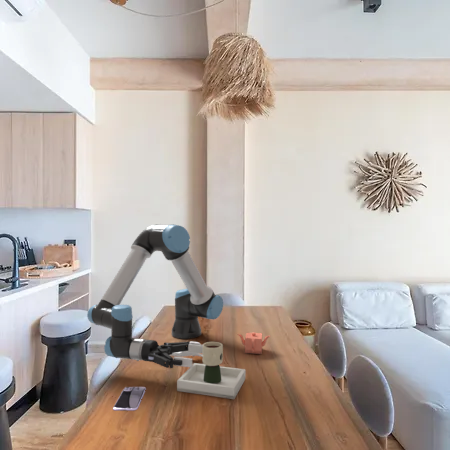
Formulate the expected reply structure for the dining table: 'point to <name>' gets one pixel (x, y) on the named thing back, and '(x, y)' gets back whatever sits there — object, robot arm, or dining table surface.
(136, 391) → the mobile phone
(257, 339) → the teapot
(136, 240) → the robot arm
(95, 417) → the dining table surface
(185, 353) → the white flat pronged piece
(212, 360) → the character mug
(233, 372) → the tray
